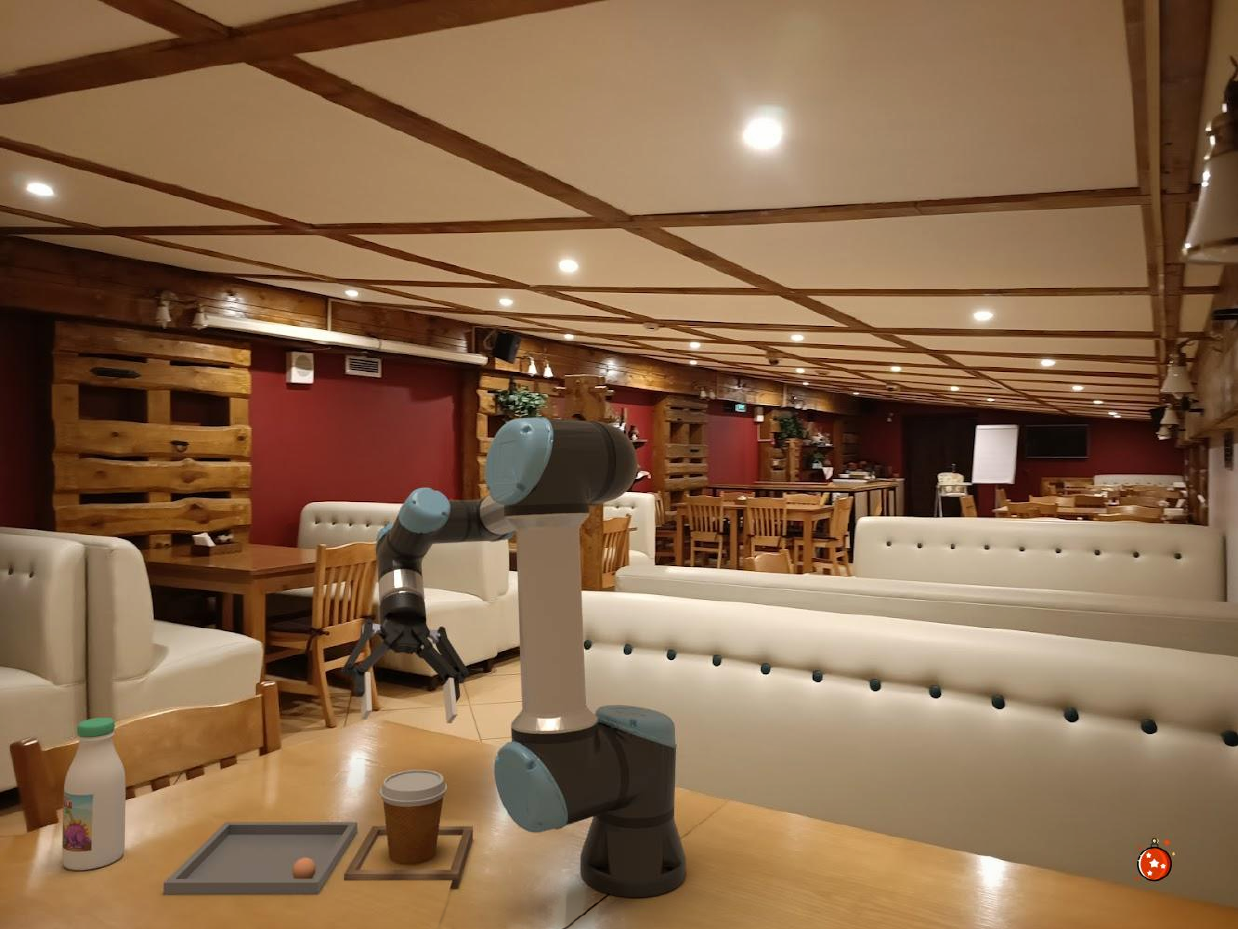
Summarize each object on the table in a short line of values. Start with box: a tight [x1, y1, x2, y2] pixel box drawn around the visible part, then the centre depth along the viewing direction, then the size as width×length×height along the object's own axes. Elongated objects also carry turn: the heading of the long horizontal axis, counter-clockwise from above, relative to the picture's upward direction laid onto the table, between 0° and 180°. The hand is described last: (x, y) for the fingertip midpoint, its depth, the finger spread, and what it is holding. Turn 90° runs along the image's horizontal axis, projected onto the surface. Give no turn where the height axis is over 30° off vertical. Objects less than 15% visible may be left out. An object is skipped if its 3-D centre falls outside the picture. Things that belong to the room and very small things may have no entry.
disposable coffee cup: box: [379, 769, 448, 866], centre depth 124 cm, size 10×10×12 cm
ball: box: [292, 858, 316, 879], centre depth 116 cm, size 3×3×3 cm
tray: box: [163, 821, 358, 896], centre depth 121 cm, size 20×19×3 cm
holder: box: [343, 825, 474, 890], centre depth 124 cm, size 15×15×2 cm
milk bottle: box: [61, 717, 126, 871], centre depth 123 cm, size 8×8×20 cm
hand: (410, 717), depth 131 cm, fingers open, 13 cm apart
